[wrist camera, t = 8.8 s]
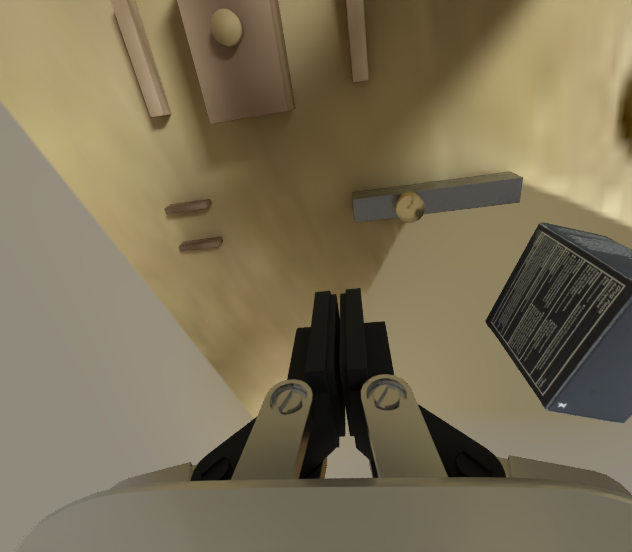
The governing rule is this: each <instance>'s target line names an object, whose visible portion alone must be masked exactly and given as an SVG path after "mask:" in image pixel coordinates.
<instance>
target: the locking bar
mask: <svg viewBox="0 0 632 552" xmlns="http://www.w3.org/2000/svg"><path fill="white" fill-rule="evenodd" d="M522 181H523V177H521V176H519V175H516V174H514V173H512V172H504V173H496V174H489V175H481V176H474V177H466V178H459V179H451V180H444V181H436V182H429V183H421V184H414V185H406V186H399V187H391V188H384V189H377V190H369V191H362V192H354V193H352V200H353V210H354V218H355V223H356V222H364V221H372V220H380V219H389V218H397V217H399V219H400V220H402V221H403V222H406V223H412V222H415V221H417V220H419V219H420V218H421V217H422V216H423V214H429V213H437V212H445V211H454V210H461V209H470V208H478V207H486V206H494V205H502V204H510V203H518V202H520V195H521V188H522Z"/></svg>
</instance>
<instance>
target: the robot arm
mask: <svg viewBox="0 0 632 552" xmlns="http://www.w3.org/2000/svg"><path fill="white" fill-rule="evenodd" d="M363 321H364V320H363V310H362V300H361V290H360V288H357V289H346V293H344V294H340V317H339V310H338V303H337V296H336V294H333V295H331V292H330V291H323V292H316V293H315V299H314V307H313V315H312V323H311V327H304V328H298V329H297V331H296V335H295V341H294V346H293V352H292V357H291V362H290V368H289V373H288V379H287V380H286V381H282V382H280V383H278V384H276V385H275V386H274V387H273V388H271V389H270V390H269V392H268V394H267V395H266V397H265V399H264V402H263V404H262V407H261V409H260V411H259V414H258V416H257V417H256V418H255V419H253V420H252V421H251V422H250V423H248V424H247V425H246V426H244V427H243V428H242V429H240V430H239V431H238V432H236V433H235V434H234V435H232V436H231V437H230V438H229V439H227V440H226V441H225V442H223V443H222V444H221V445H219V446H218V447H217V448H215V449H214V450H213V451H211V452H210V453H209V454H208V455H206V456H205V457H204V458H203V459H202V460H201V461H200V462H199V463H198V464H197V465H192V464H191V462H190V463H186V464H182V465H178V466H174V467H170V468H166V469H162V470H159V471H155V472H151V473H147V474H143V475H139V476H135V477H131V478H128V479H125V480H123V481H121V482H119V483H118V484H116V485H115V486H113V487H112V488H111V489H109V490H105V491H101V492H98V493H95V494H91V495H89V496H86V497H84V498H81V499H79V500H76V501H74V502H72V503H69V504H67V505H65V506H63V507H62V508H60V509H58V510H56V511H55V512H53V513H51V514H49V515H48V516H46V517H45V518H44V519H42V520H41V521H40V522H39V523H37V524H36V525H35V526H34V527H33V528H32V529H31V530H30V531H29V532H28V533H27V534H26V535H25V536H24V537H23V538H22V539H21V540H20V541H19V542H18V543H17V545H16V546H15V547H14V548H13V549H12V551H11V552H632V495H631V493H630V492H629V491H628V490H626V489H625V488H624V487H623V486H622V485H621V484H620V483H618V482H617V481H615V480H614V479H612V478H610V477H609V476H607V475H605V474H601V473H598V472H595V471H591V470H586V469H580V468H575V467H570V466H564V465H559V464H553V463H548V462H542V461H537V460H532V459H526V458H521V457H515V456H510V455H509V457H508V459H504V458H499V457H496V456H495V455H494V454H493V453H491V452H490V451H489V450H488V449H486V448H485V447H483V446H482V445H480V444H479V443H477V442H476V441H474V440H472V439H471V438H469V437H468V436H466V435H465V434H463V433H462V432H460V431H459V430H457V429H455V428H454V427H452V426H451V425H449V424H448V423H446V422H445V421H443V420H442V419H440V418H439V417H437V416H435V415H434V414H432V413H430V412H429V411H428V410H426V409H425V408H423V407H422V406H420V405H418V404H417V402H416V399H415V397H414V394H413V392H412V390H411V388H410V386H409V385H408V383H406V382H405V381H404V380H403V379H401V378H399V377H397V376H394V372H393V366H392V360H391V354H390V349H389V343H388V337H387V331H386V325H385V322H370V323H364V322H363ZM345 407H346V414H347V420H348V426H349V432H350V436H355V443H356V448H357V449H358V450H359V451H360V452H362V453H363V454H364V455H365V456H366V457H367V458H368V459H369V465H370V470H371V474H372V478H347V479H346V478H341V479H324V478H325V473H326V468H327V456H328V455H329V454H330V453H331V452H332V451H333V450H334V449H335V448H336V447H339V437H341V436H345Z"/></svg>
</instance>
